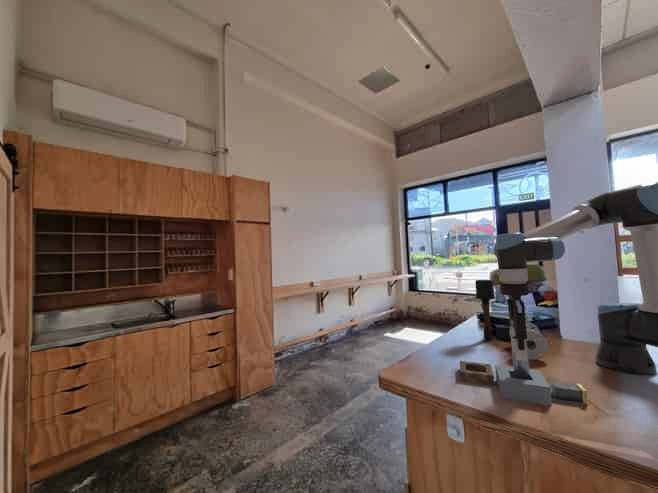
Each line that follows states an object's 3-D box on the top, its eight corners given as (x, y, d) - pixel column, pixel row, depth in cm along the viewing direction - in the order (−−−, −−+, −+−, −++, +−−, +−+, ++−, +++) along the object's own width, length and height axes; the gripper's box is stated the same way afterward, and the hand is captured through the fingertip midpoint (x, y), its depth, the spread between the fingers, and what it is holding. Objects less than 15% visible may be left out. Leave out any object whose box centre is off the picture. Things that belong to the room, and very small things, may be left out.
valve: (550, 362, 107) (547, 323, 107) (514, 357, 113) (511, 321, 113) (539, 345, 126) (537, 312, 127) (509, 342, 132) (506, 311, 132)
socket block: (572, 393, 83) (570, 373, 84) (589, 414, 72) (587, 392, 73) (496, 383, 92) (495, 365, 92) (501, 401, 81) (500, 380, 81)
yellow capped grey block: (581, 399, 79) (580, 384, 80) (588, 407, 75) (586, 391, 76) (551, 395, 82) (550, 380, 83) (556, 402, 78) (555, 386, 79)
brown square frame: (491, 375, 98) (490, 364, 98) (494, 388, 89) (493, 375, 89) (460, 371, 102) (459, 360, 102) (460, 383, 93) (460, 371, 93)
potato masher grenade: (501, 342, 131) (496, 280, 132) (481, 342, 133) (477, 281, 134) (494, 337, 139) (490, 279, 141) (476, 337, 141) (472, 279, 142)
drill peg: (528, 376, 85) (523, 319, 86) (531, 382, 81) (525, 322, 82) (513, 374, 87) (508, 318, 87) (515, 380, 83) (510, 321, 84)
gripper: (496, 279, 95) (502, 346, 94) (503, 285, 79) (510, 366, 78) (521, 278, 91) (528, 348, 90) (535, 285, 76) (543, 369, 75)
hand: (520, 356), depth 84 cm, fingers closed on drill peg, 4 cm apart
